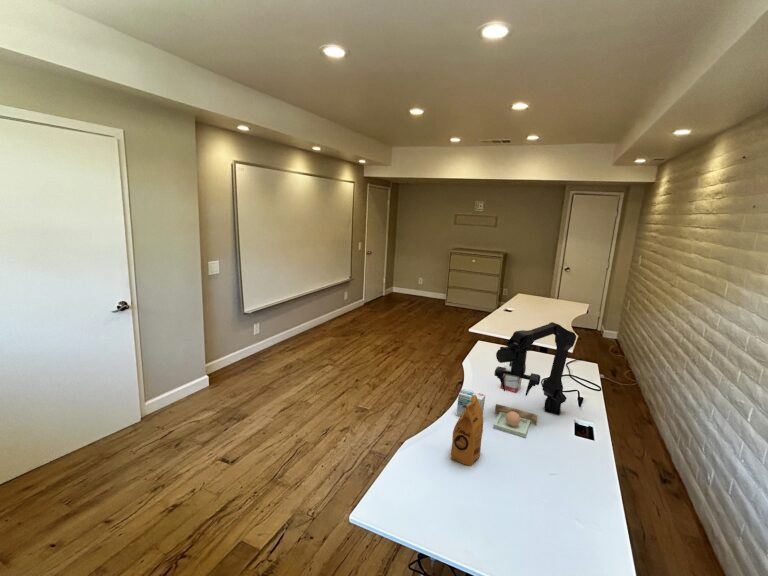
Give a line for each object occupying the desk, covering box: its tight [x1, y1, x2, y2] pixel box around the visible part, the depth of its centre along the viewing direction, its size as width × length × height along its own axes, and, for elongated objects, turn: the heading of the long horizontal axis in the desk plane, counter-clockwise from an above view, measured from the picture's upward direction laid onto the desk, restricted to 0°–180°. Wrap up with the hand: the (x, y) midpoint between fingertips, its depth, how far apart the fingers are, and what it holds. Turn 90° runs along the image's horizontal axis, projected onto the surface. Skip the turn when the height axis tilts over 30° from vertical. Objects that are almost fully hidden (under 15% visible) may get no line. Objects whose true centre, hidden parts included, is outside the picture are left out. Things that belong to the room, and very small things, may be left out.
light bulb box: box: [456, 388, 486, 418], centre depth 170 cm, size 11×7×11 cm, turn 62°
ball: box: [506, 411, 520, 426], centre depth 164 cm, size 6×6×6 cm
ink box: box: [499, 363, 523, 394], centre depth 202 cm, size 9×9×12 cm
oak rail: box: [494, 403, 539, 426], centre depth 171 cm, size 18×2×4 cm, turn 61°
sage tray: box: [492, 412, 531, 439], centre depth 165 cm, size 13×13×2 cm
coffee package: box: [450, 395, 484, 467], centre depth 140 cm, size 10×12×22 cm
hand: (515, 393), depth 170 cm, fingers open, 9 cm apart
